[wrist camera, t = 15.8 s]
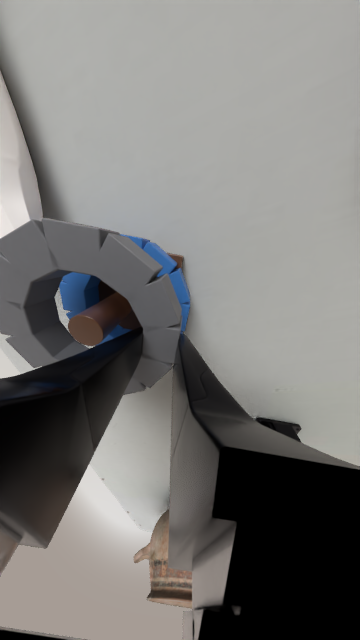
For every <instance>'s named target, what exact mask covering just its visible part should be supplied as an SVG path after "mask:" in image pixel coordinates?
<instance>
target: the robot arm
mask: <svg viewBox="0 0 360 640" xmlns="http://www.w3.org/2000/svg"><path fill="white" fill-rule="evenodd" d="M142 346H143V327H139V328H136V329H134V330H132V331H129V332H127V333H125V334H123V335H120V336H118V337H116V338H113V339H111V340H109V341H106V342H104V343H102V344H99V345H97V346H95V347H93V348H90V349H88V350H86V351H83V352H81V353H78V354H76V355H73V356H71V357H68V358H65V359H63V360H60V361H57V362H54V363H52V364H49V365H46V366H43V367H40V368H38V369H35V370H32V371H29V372H26V373H24V374H20V375H17V376H13V377H8V378H2V379H0V576H1V574H2V572H3V571H4V569H5V567H6V566H7V564H8V562H9V561H10V559H11V557H12V555H13V553H14V552H15V550H16V548H17V547H18V545H25V546H31V547H38V548H44V549H45V548H47V547H48V545H49V543H50V541H51V539H52V537H53V535H54V533H55V531H56V529H57V527H58V525H59V523H60V521H61V519H62V517H63V515H64V513H65V511H66V509H67V507H68V505H69V503H70V501H71V499H72V497H73V495H74V493H75V491H76V489H77V487H78V485H79V483H80V481H81V479H82V477H83V475H84V473H85V471H86V469H87V466H88V465H89V463H90V461H91V459H92V457H93V455H94V452H95V450H96V448H97V446H98V444H99V442H100V440H101V438H102V436H103V434H104V432H105V430H106V428H107V426H108V424H109V422H110V420H111V418H112V416H113V414H114V412H115V410H116V408H117V406H118V404H119V402H120V400H121V398H122V396H123V394H124V392H125V390H126V388H127V386H128V384H129V382H130V380H131V378H132V376H133V374H134V372H135V370H136V368H137V366H138V364H139V361H140V358H141V356H142ZM300 430H301V427H300V425H298V424H293V423H287V422H281V421H275V420H269V419H264V418H257V419H256V420H254V419H253V418H251V417H250V416H249V415H248V414H247V413H246V412H245V410H244V409H243V408H242V407H241V406H240V405H239V404H238V403H237V401H236V400H235V399H234V398H233V397H232V396H231V395H230V393H229V392H228V391H227V390H226V389H225V388H224V387H223V385H222V384H221V383H220V382H219V381H218V379H217V378H216V377H215V375H214V374H213V373H212V371H211V370H210V368H209V367H208V366H207V364H206V363H205V361H204V360H203V359H202V357H201V356H200V354H199V353H198V351H197V350H196V349H195V347H194V346H193V344H192V343H191V342H190V340H189V339H188V337H187V336H186V335H185V334H180V337H179V339H178V344H177V349H176V354H175V359H174V365H173V387H172V426H171V466H170V503H169V542H168V568H171V569H178V570H184V571H190V572H192V611H184V612H183V637H182V640H360V466H357V465H354V464H351V463H348V462H345V461H342V460H340V459H337V458H334V457H332V456H330V455H327V454H325V453H323V452H320V451H318V450H316V449H314V448H312V447H309V446H307V445H305V444H303V443H302V442H301V441H300V439H299V437H298V436H297V434H298V432H299V431H300ZM0 640H86V639H79V638H73V637H66V636H59V635H52V634H46V633H39V632H33V631H26V630H19V629H13V628H6V627H0Z"/></svg>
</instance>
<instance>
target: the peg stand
mask: <svg viewBox="0 0 360 640" xmlns="http://www.w3.org/2000/svg"><path fill="white" fill-rule="evenodd" d="M167 254H168V255H169V256H170V257H171V258H172V259H173V260H174V261H176V262H177V266H176V267H175V268H174V270H176V269H178V268H182V262H183V256H181V255H176V254H170V253H167ZM98 291H99V302H98V303H97V304H95V305H93V306H91V307H90V308H88V309H86V310H84V311H82V312H81V313H79V314H77V315H75V316H74V317H72V318H71V319H70V321H69V323H68V329H69V332H70V334H71V335H72V337H73V338H74V339H75V340H77V341H78V342H80V343H81V344H84V345H88V346H94V345H98V344H99V343H101V342H102V341H103V340H104V339H105V338H106V337H107V336H108V335H109V334H110V333H111V331H112V330H113V329H114V328H115V327H116V326H117V325H120V326H121V327H123V328H125V329H130V330H134V329H136V328H139V327H142V326H141V324H140V322H139V320H138V318H137V316H136V314H135V313H134V311H133V309H132V307H131V305H130V303H129V301H128V300H127V299H126V298H125V297H123V296H122V295H121V294H119V293H118V292H117V291H115V290H114V289H112V288H111V287H110V286H108V285H107V284H106V283H104V282H103V281H102V280H101V281H100V283H99V285H98Z"/></svg>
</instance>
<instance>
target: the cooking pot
mask: <svg viewBox="0 0 360 640" xmlns="http://www.w3.org/2000/svg"><path fill="white" fill-rule="evenodd" d="M168 542H169V509H168V510H167V511H166V512H165V513H164V514H163V515H162V516H161V517H160V519H159V520H158V522H157V523H156V525H155V528H154V530H153V533H152V537H151V541H150V543H149V544H148V545H147V546H146V547H144V548H142V549H141V550H139V551H138V552H137V553H136V554H135V556H134V562H135V563H138V562H140V561H141V560H144V559H149V565H150V581H151V593H150V594H149V595H148V597H147V600H149V601H152V602H157V603H161V604H167V605H173V606H179V607H186V608H192V572H190V571H184V570H178V569H171V568H168Z"/></svg>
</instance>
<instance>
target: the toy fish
mask: <svg viewBox="0 0 360 640" xmlns="http://www.w3.org/2000/svg"><path fill="white" fill-rule="evenodd" d="M42 218H43V212H42V205H41V199H40V193H39V189H38V183H37V177H36V174H35V171H34V167H33V163H32V160H31V156H30V153H29V150H28V147H27V144H26V141H25V138H24V135H23V132H22V129H21V126H20V123H19V120H18V117H17V114H16V111H15V108H14V105H13V103H12V100H11V98H10V95H9V92H8V90H7V87H6V84H5V82H4V79H3V77H2V74H1V71H0V238H2V237H4V236H5V235H7V234H9V233H10V232H12V231H14V230H15V229H17V228H19V227H20V226H22V225H23V224H25V223H27V222H28V221H30V220H39V221H42Z"/></svg>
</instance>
